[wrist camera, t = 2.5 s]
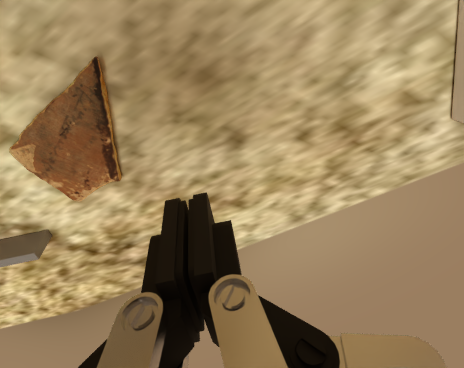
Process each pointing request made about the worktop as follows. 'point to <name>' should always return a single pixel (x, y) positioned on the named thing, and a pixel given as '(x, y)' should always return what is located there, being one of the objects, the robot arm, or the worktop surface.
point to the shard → (73, 138)
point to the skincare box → (459, 70)
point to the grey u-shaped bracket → (23, 248)
